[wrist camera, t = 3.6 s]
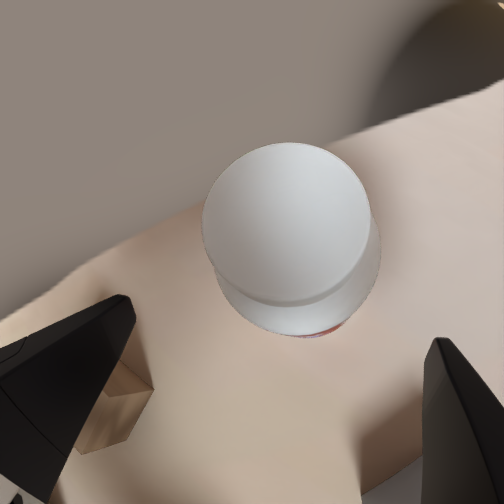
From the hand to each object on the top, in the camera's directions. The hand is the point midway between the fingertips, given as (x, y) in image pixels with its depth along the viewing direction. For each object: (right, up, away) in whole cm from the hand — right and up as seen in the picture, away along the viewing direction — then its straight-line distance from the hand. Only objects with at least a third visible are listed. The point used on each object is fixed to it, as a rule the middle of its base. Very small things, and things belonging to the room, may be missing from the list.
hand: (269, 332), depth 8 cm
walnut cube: (-10, -8, +11) cm, 17 cm away
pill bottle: (+3, 0, +10) cm, 11 cm away
